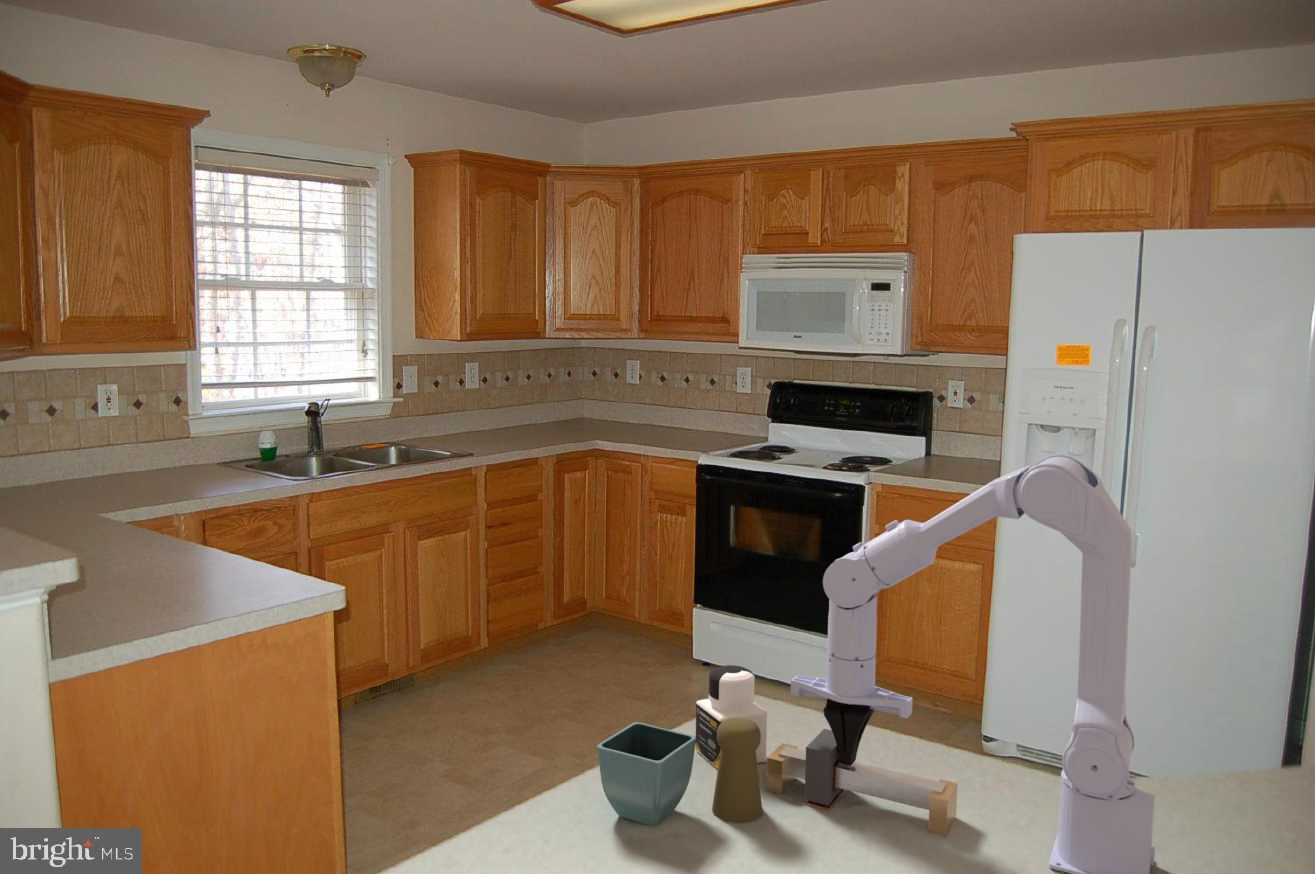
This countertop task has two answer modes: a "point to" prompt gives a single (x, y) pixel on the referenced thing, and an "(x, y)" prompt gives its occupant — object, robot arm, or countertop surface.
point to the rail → (870, 785)
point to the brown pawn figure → (738, 772)
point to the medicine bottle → (728, 710)
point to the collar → (821, 768)
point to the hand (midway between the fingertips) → (848, 761)
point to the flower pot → (646, 771)
